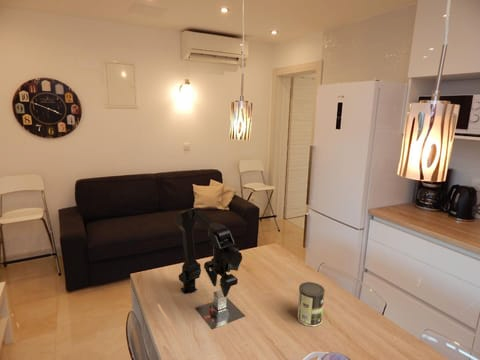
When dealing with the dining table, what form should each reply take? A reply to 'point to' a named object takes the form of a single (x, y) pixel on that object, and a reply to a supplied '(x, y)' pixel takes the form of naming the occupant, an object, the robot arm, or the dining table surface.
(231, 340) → the dining table surface
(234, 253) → the robot arm
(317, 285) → the coffee can
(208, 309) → the stand base
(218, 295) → the post
